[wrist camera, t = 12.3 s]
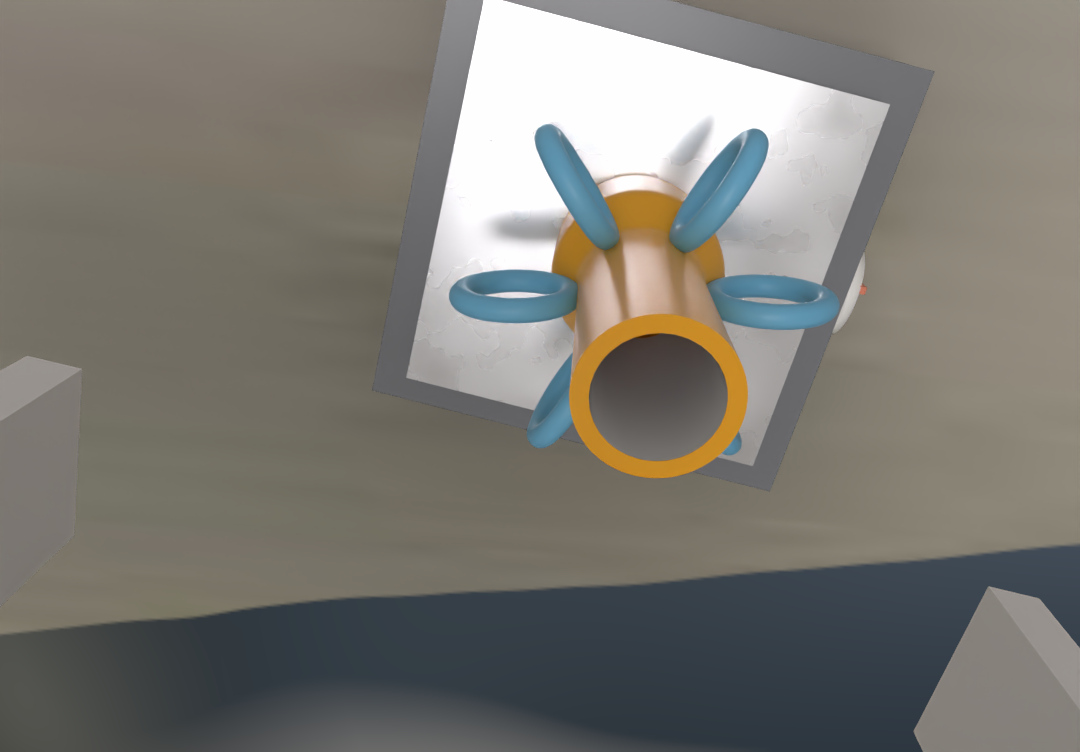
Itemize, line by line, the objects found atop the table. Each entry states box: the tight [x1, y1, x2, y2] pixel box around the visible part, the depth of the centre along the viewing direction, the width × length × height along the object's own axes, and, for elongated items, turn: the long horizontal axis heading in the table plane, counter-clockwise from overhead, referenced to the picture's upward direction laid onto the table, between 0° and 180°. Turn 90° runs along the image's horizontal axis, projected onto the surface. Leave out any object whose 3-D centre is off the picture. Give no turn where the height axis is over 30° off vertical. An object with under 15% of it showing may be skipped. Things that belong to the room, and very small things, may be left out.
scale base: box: [372, 0, 934, 491], centre depth 37 cm, size 19×18×5 cm
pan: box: [406, 0, 890, 466], centre depth 36 cm, size 15×15×5 cm
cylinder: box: [449, 124, 840, 478], centre depth 26 cm, size 12×10×15 cm
